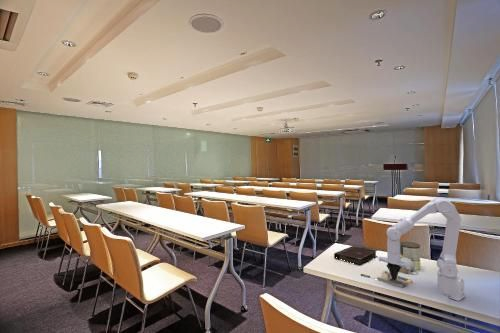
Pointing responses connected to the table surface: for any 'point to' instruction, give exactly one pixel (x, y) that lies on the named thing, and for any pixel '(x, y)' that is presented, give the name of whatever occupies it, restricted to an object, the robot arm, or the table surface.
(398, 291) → the table surface
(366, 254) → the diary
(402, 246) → the coffee can
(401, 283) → the switch bank
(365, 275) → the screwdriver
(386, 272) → the tab
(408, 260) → the ceramic mug
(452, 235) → the robot arm
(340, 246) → the table surface
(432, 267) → the table surface
